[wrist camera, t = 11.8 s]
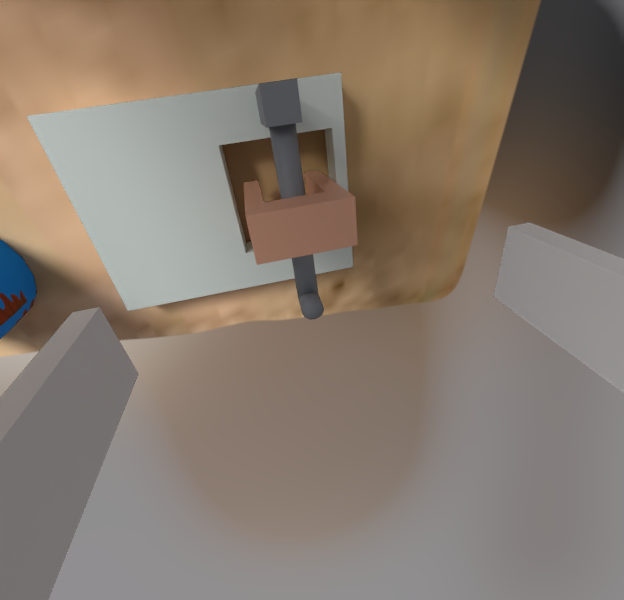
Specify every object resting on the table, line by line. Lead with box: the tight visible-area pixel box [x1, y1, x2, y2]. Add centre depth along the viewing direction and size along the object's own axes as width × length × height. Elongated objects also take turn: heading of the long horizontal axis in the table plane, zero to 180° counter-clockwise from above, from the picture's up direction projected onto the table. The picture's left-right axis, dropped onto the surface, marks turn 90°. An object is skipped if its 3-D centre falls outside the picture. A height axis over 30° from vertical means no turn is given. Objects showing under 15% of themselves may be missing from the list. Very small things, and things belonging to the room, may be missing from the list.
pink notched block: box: [244, 170, 358, 265], centre depth 23 cm, size 6×3×10 cm, turn 97°
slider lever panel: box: [27, 72, 353, 319], centre depth 24 cm, size 22×16×12 cm
